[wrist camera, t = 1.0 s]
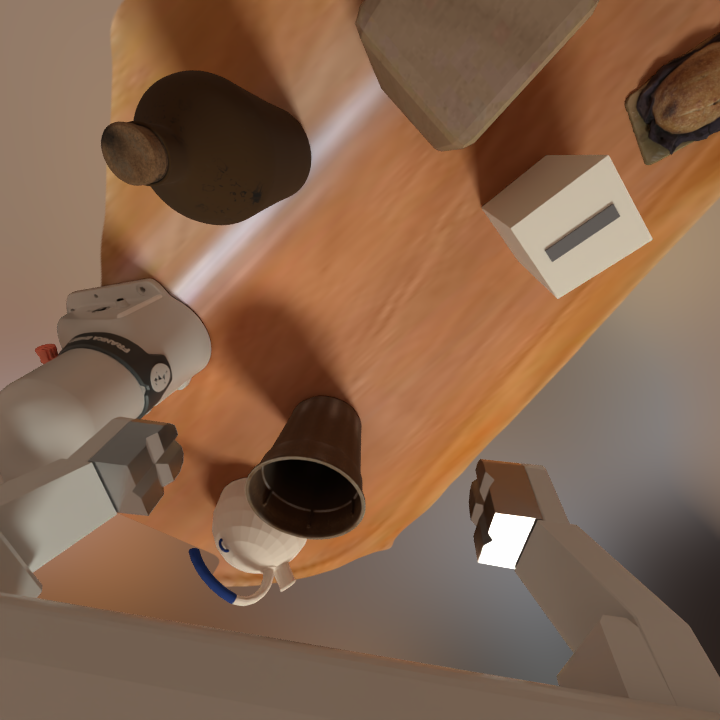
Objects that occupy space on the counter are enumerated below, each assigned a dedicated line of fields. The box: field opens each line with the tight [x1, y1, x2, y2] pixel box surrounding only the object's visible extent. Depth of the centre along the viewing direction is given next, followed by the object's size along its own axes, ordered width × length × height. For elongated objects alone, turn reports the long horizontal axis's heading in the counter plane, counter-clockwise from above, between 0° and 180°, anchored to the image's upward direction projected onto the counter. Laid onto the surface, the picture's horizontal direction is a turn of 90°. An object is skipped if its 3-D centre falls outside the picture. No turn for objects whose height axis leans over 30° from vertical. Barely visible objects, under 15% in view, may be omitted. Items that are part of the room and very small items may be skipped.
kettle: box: [189, 478, 307, 606], centre depth 67 cm, size 20×21×18 cm
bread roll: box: [625, 32, 720, 165], centre depth 34 cm, size 11×8×4 cm
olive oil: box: [101, 71, 311, 225], centre depth 31 cm, size 11×11×25 cm
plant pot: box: [245, 396, 365, 539], centre depth 54 cm, size 16×16×16 cm
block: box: [356, 0, 599, 151], centre depth 28 cm, size 10×10×20 cm
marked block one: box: [481, 155, 653, 299], centre depth 35 cm, size 8×8×14 cm
